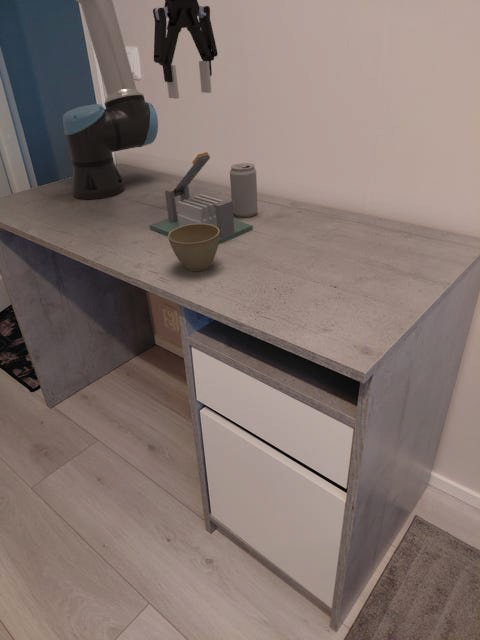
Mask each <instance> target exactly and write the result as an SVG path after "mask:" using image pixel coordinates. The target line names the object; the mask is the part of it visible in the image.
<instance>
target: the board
mask: <svg viewBox="0 0 480 640" xmlns="http://www.w3.org/2000/svg"><path fill="white" fill-rule="evenodd" d="M189 188H190V187H189V185H188V186H187V187H186V188H185V189H184V191H183V194H182V195H179V197H180V200H179V201H177V202H176V197H175V196H174V191H173V190H174V189H170V188H167V189H165V190H164V196H165V202H166V203H165V204H166V210H167V217H168V218H165V219H163V220H159V221H158V222H154V223H151V224H149V229H150V230H152V231H154V232H156V233H159V234H162V235H165V236H167V237H168V234H169V233H170V232H171V231H172V230H174V229H175V228H178V227H180V226H184V225H188V224H197V223H202V224H210V225H214V226H216V227H217V228H219V230H220V235H219V243H218V245H220V244H223V243H225V242H227V241H229V240H232V239H234V238H237V237H239V236H242V235H244V234H246V233H248V232H251V231H253V229H254V228H253V227H254V226H253V225H252V224H249V223H246V222H242V221H239V220H236V219H234V218H235V217H234V213H233V201H232V199H231V200H230V199H225V200H223V199H219V198H216V197H213V196H208V195H205V194H202V193H200V194H198V196H197V195H194V196H193V197H191V196H190V189H189ZM176 203H177V205H176ZM177 207H178V214H177Z"/></svg>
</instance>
